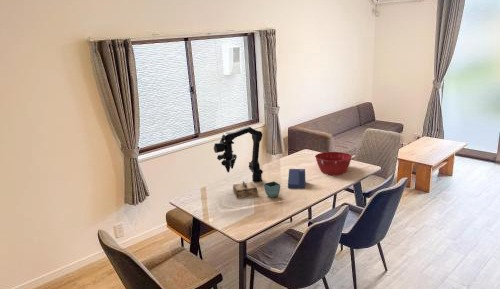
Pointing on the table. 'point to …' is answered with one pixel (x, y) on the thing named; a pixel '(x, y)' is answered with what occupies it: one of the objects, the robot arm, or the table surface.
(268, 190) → the flower pot
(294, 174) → the phone stand
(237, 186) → the lid
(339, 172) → the mixing bowl
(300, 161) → the table surface
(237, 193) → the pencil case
